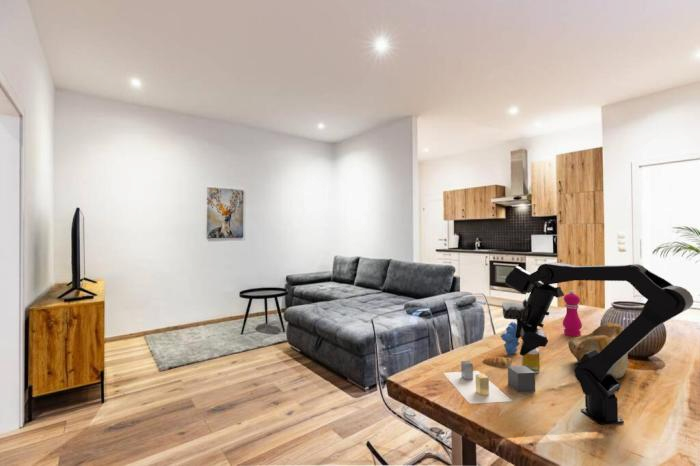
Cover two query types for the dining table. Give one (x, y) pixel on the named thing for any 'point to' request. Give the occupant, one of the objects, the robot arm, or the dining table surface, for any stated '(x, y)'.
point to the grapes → (510, 339)
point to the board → (469, 389)
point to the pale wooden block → (482, 384)
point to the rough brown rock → (599, 345)
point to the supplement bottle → (532, 360)
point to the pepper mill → (572, 315)
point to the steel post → (467, 370)
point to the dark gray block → (521, 378)
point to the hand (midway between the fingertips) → (519, 346)
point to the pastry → (498, 362)
